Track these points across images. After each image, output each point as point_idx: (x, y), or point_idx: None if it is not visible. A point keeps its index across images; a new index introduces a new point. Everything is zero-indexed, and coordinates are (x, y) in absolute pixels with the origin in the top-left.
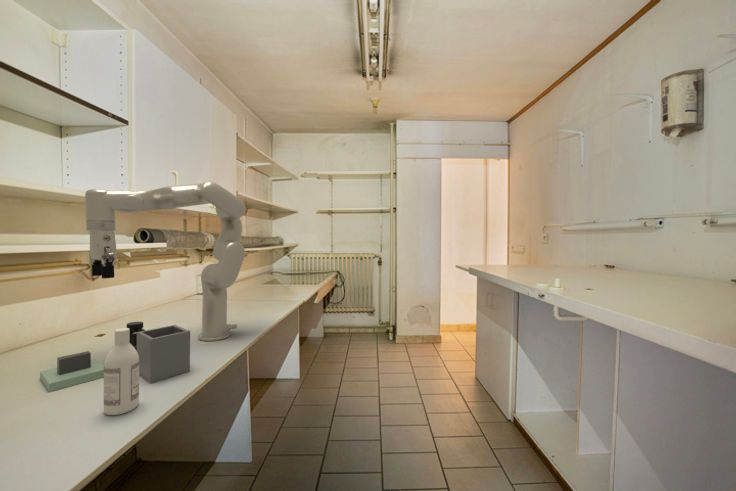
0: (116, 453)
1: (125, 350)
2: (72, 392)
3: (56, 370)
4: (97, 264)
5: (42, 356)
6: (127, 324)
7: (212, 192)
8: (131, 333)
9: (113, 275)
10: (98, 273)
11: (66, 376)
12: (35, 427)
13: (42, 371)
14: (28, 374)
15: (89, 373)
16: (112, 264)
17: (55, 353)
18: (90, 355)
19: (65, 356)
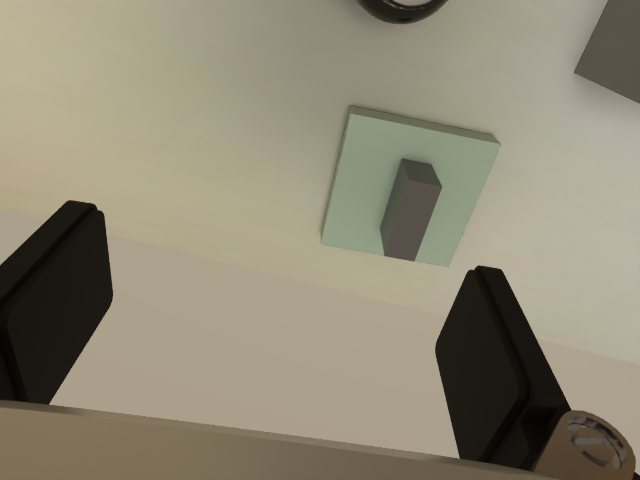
0: None
1: None
2: (504, 231)
3: (356, 222)
4: (12, 385)
5: (74, 149)
6: (405, 7)
7: None
8: (438, 1)
9: (501, 287)
10: (96, 273)
11: (438, 229)
12: (595, 321)
13: (327, 241)
14: (248, 231)
15: (481, 189)
16: (612, 456)
17: (65, 112)
18: (440, 183)
19: (397, 240)
